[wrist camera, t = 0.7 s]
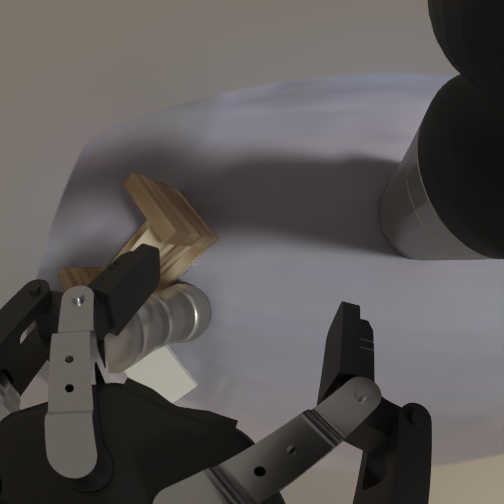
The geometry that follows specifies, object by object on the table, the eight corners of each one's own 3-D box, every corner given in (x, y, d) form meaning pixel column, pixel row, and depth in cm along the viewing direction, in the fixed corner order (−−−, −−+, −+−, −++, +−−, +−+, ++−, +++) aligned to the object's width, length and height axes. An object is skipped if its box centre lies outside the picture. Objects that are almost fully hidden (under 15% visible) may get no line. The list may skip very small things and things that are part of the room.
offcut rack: (180, 190, 36) (133, 171, 27) (218, 238, 34) (176, 231, 25) (107, 274, 39) (57, 276, 30) (136, 320, 37) (87, 333, 28)
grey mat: (151, 321, 36) (148, 322, 36) (198, 384, 34) (196, 386, 34) (117, 355, 38) (114, 356, 38) (158, 412, 36) (155, 414, 36)
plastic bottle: (160, 308, 36) (23, 338, 17) (191, 270, 35) (48, 276, 16) (194, 347, 35) (65, 410, 15) (229, 310, 33) (99, 359, 14)
